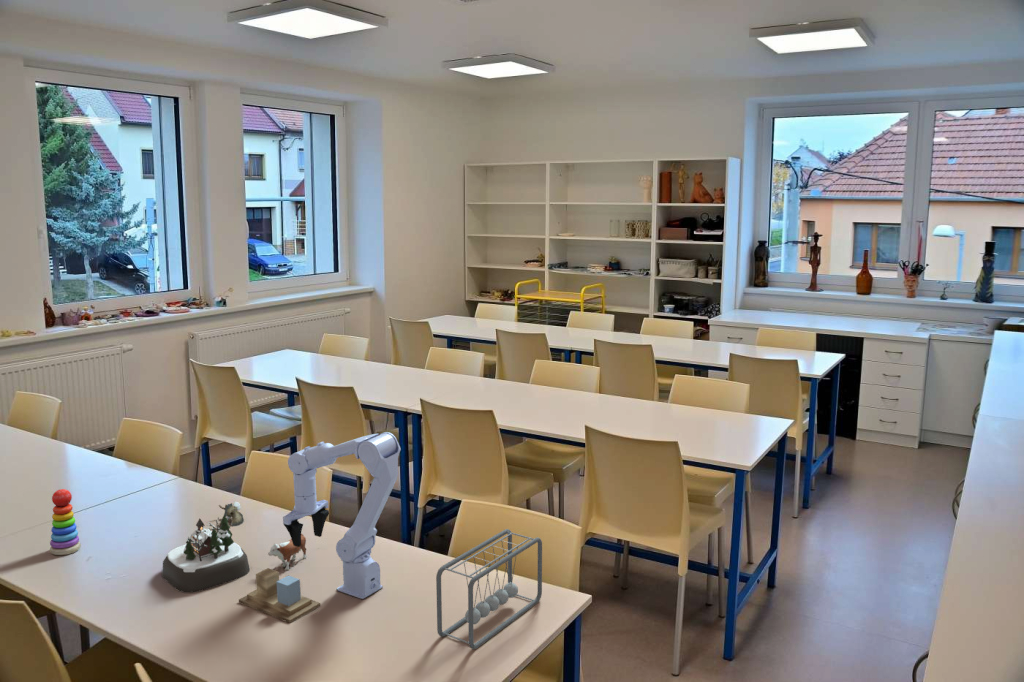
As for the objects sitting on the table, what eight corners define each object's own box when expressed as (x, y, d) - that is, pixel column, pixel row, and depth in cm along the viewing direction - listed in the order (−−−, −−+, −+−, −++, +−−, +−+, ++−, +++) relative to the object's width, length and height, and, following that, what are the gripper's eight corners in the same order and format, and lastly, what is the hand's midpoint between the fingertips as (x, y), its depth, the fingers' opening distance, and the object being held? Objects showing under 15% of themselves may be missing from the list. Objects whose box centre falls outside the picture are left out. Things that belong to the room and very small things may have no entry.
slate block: (300, 599, 206) (299, 579, 205) (288, 606, 202) (287, 585, 201) (289, 595, 208) (288, 575, 207) (277, 601, 204) (276, 581, 203)
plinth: (320, 605, 206) (320, 598, 206) (290, 623, 198) (289, 615, 198) (269, 586, 217) (269, 579, 216) (238, 602, 208) (238, 595, 208)
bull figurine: (266, 573, 225) (265, 545, 223) (300, 554, 236) (298, 527, 235) (278, 576, 223) (276, 548, 221) (311, 557, 234) (310, 530, 233)
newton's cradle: (509, 589, 215) (509, 526, 212) (542, 600, 209) (543, 535, 206) (436, 639, 191) (435, 568, 188) (471, 653, 185) (470, 580, 182)
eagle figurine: (212, 516, 261) (219, 521, 254) (223, 496, 263) (229, 499, 256) (234, 525, 265) (241, 529, 257) (244, 504, 267) (251, 508, 259)
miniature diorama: (225, 550, 239) (221, 495, 236) (256, 573, 225) (252, 515, 222) (156, 571, 226) (151, 514, 223) (184, 597, 211) (179, 535, 208)
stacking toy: (67, 557, 234) (61, 495, 231) (43, 555, 236) (37, 493, 233) (87, 546, 242) (81, 486, 239) (63, 543, 244) (57, 484, 240)
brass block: (279, 591, 210) (278, 571, 209) (267, 598, 206) (266, 577, 205) (269, 587, 212) (268, 568, 211) (256, 593, 209) (255, 574, 208)
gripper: (314, 482, 226) (316, 528, 229) (274, 498, 214) (276, 546, 217) (333, 487, 223) (335, 533, 225) (292, 504, 211) (295, 553, 213)
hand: (307, 540), depth 221 cm, fingers open, 7 cm apart
